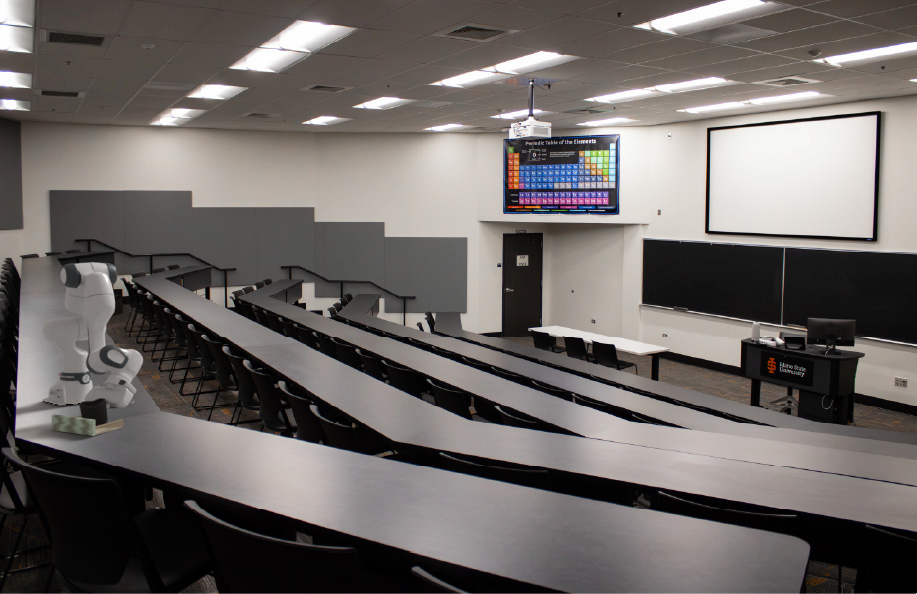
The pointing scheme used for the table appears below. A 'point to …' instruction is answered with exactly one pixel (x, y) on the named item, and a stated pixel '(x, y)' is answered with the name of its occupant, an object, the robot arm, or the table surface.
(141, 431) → the table surface
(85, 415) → the pen holder
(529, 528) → the table surface
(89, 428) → the corral
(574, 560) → the table surface
